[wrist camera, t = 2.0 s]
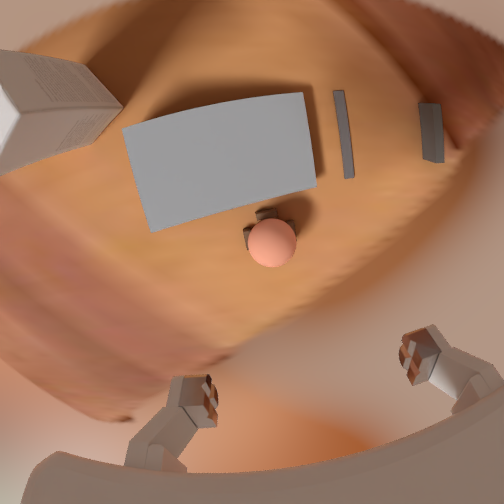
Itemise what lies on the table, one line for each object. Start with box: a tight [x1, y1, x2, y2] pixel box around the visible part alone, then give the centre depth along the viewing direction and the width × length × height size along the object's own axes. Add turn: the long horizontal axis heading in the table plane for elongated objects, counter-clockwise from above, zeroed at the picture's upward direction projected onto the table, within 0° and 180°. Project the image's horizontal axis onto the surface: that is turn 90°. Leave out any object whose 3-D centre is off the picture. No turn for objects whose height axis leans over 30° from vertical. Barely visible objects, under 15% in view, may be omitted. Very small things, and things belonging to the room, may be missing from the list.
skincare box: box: [0, 50, 123, 176], centre depth 11 cm, size 6×4×12 cm
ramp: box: [122, 92, 317, 233], centre depth 18 cm, size 12×7×4 cm, turn 100°
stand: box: [243, 208, 297, 250], centre depth 22 cm, size 4×4×1 cm
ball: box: [248, 219, 296, 267], centre depth 21 cm, size 4×4×4 cm
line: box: [333, 91, 354, 179], centre depth 19 cm, size 1×7×1 cm, turn 10°
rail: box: [418, 103, 444, 163], centre depth 18 cm, size 1×5×2 cm, turn 10°
